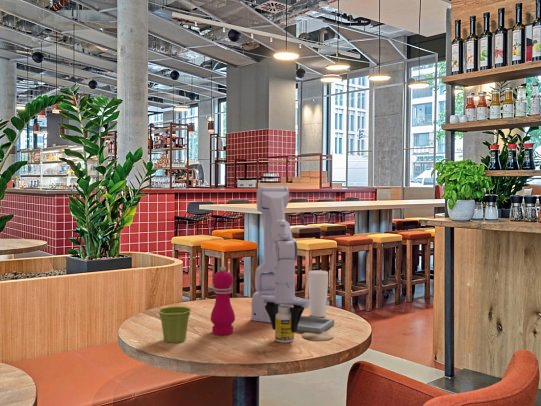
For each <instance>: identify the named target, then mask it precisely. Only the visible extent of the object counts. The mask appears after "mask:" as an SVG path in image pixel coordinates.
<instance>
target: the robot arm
mask: <svg viewBox="0 0 541 406" xmlns="http://www.w3.org/2000/svg"><path fill="white" fill-rule="evenodd" d="M289 190H290V189H289V188H288V187H287V186H286V185H283V186H262V185H259V186H258V187H257V189H256V209H257V210H256V211H257V212H260V213H261V214H262V218H263V262H262V263H261V264H260V265H258V266H257V268H256V269H255V276H254V288H255V292H254V293H253V294H252V298H251V318H250V320H251V321H255V322H256V321H257V322H263V323H270V324H271V327H272V330H274V331H275V316H276V314H277V313H279V312H278V306H279V305H290V306H292V308H290V312H291V320H292V326H291V329H292V332H294V333H296V332H297V327H298V323H299V320H300V317H301V316H303V312H304V311H305V309H307V308H310V300H309V299H304V298H300V297H296V294H295V293H296V260H298V254H299V253H298V251H299V250H298V249H299V248H298V244H297V240H296V239H295V237H293V234H292V229H291V224H290V223H289V222H288V221H287V220H286V215H285V210H286V208H287V206H288V205H289V202H290V191H289Z"/></svg>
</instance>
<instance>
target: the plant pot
mask: <svg viewBox="0 0 541 406" xmlns="http://www.w3.org/2000/svg"><path fill="white" fill-rule="evenodd" d="M157 313H158V315H159V318H160V322H161V328H162V336H163V341H164V342H166V343H171V342H172V343H174V344H176V343H181V342H184V341H185V340H186V339H187V333H188V326H189V325H188V323H189V317H190V315H191V313H192V308H191V307H187V306H166V307H162V308H160V309H158V310H157Z"/></svg>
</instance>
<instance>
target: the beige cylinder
mask: <svg viewBox="0 0 541 406" xmlns="http://www.w3.org/2000/svg"><path fill="white" fill-rule="evenodd" d="M307 275H308V276H307V277H308V278H307V286H308V300H310V307H309V315H310V317H317V318H323V317H324V318H325V316H326V315H327V303H328V290H329V272H328V271H327V270H319V269H318V270H315V269H314V270H309V271H308V273H307Z"/></svg>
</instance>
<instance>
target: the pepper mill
mask: <svg viewBox="0 0 541 406" xmlns="http://www.w3.org/2000/svg"><path fill="white" fill-rule="evenodd" d="M219 270H220V271H217V272H216V273H214V275H213V277H212V283H213V285H214V286H215V287H213V288H214V293H215V301H214V302H215V303H214V306H213V308H212V311H211V313H210V322H211V323H212V324H213V325H212V330H211V332H212V334H214V335H217V336H228V335H232V334H233V333H234V326H233V323H234V322H235V321H236V315H235V311H234V309H233V306H232V304H231V297H230V295H231V292H232V287H231V286H232V284H233V281H234V278H233V275H232V274H231V272H229V271H226V270H227V268H226V266H225V265H222V266H219Z"/></svg>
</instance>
